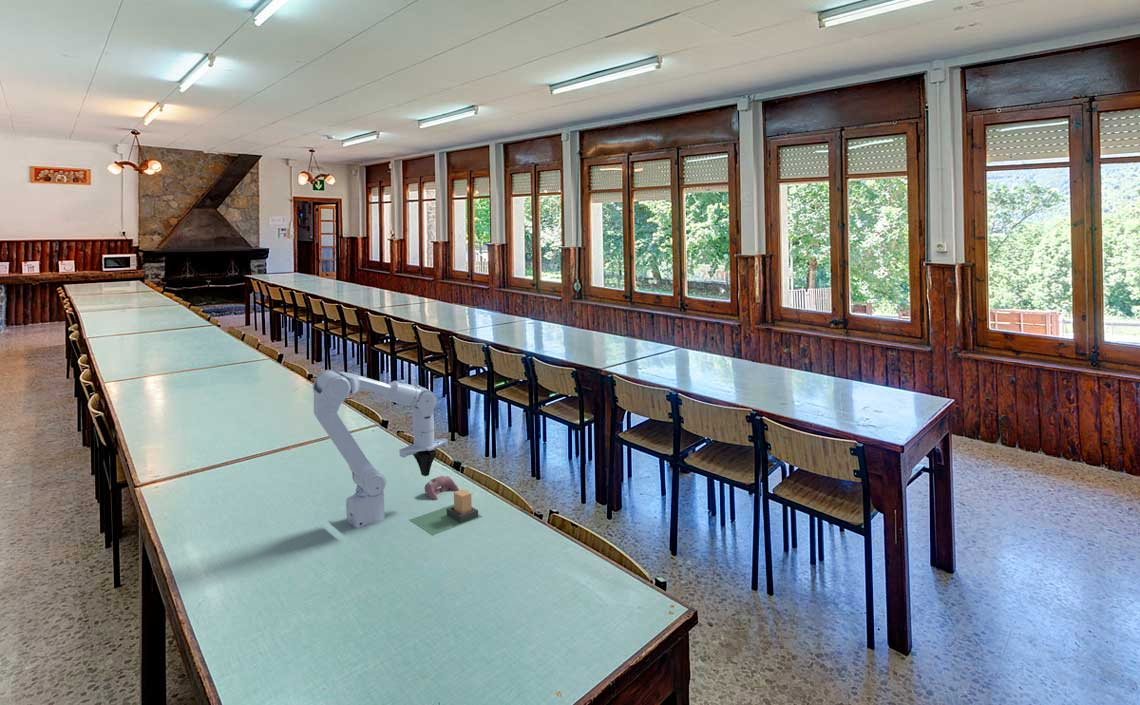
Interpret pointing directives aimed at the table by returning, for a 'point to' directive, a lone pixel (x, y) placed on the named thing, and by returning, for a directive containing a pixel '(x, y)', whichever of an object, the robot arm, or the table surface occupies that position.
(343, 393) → the robot arm
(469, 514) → the board
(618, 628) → the table surface
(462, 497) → the plug
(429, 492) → the video game controller
